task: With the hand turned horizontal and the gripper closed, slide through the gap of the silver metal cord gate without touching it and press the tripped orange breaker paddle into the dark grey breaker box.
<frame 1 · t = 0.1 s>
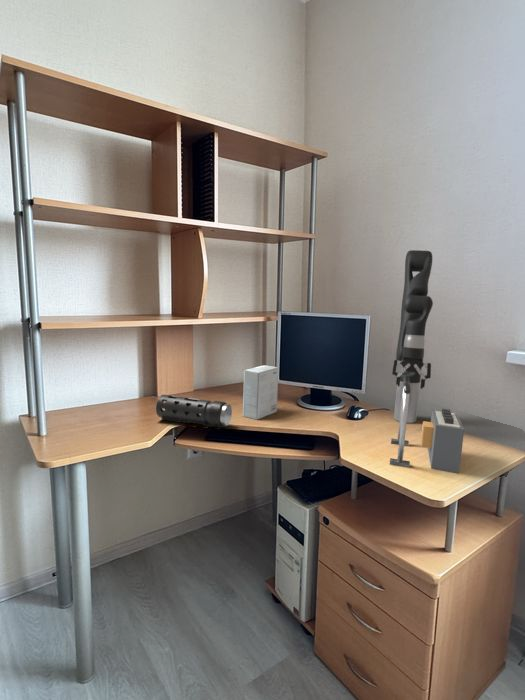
hand: (409, 387, 169), 17 cm above the table, tool pointing down, fingers open, 8 cm apart
hard drive box: (259, 414, 182), on the table
breaker box: (442, 460, 141), on the table
cord gate: (399, 453, 145), on the table
muzzle brake: (193, 424, 165), on the table
breaker paddle: (430, 434, 141), point 8 cm above the table, slide at 0.0 cm
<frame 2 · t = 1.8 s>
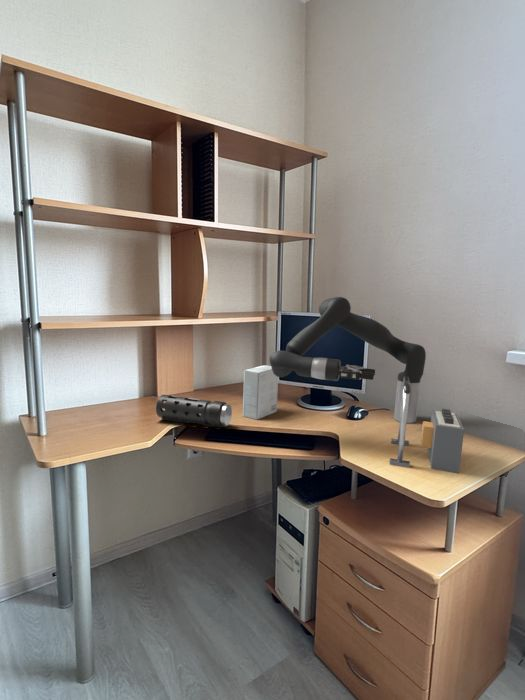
hand: (374, 374, 144), 26 cm above the table, tool horizontal, fingers open, 7 cm apart
nothing on the table moved.
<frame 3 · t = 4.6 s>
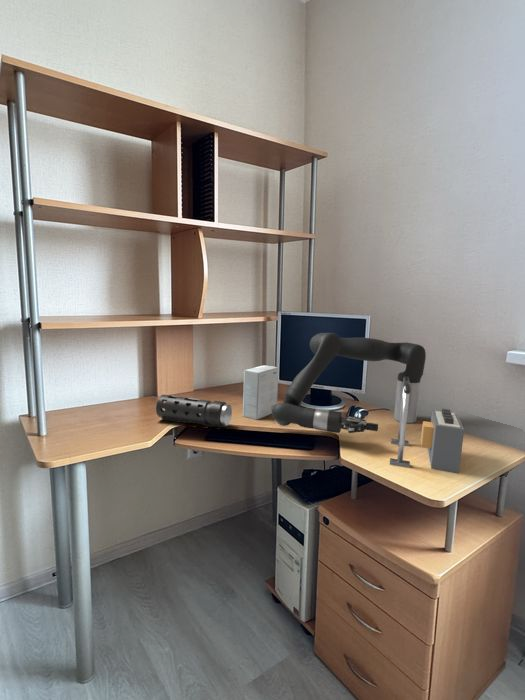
hand: (377, 427, 146), 8 cm above the table, tool horizontal, fingers closed
nothing on the table moved.
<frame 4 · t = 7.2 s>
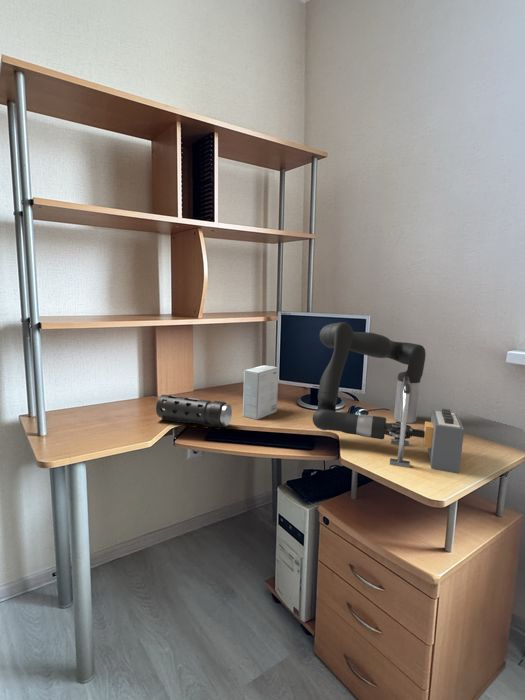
hand: (424, 434, 142), 8 cm above the table, tool horizontal, fingers closed
breaker paddle: (432, 435, 141), point 8 cm above the table, slide at 0.7 cm, touching gripper
everything else where it was.
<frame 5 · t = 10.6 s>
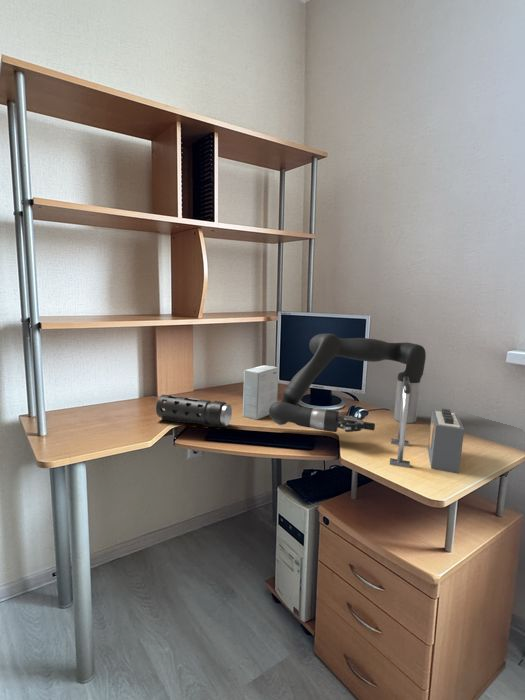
hand: (374, 426, 147), 8 cm above the table, tool horizontal, fingers closed
breaker paddle: (439, 436, 141), point 8 cm above the table, slide at 2.8 cm
everything else where it was.
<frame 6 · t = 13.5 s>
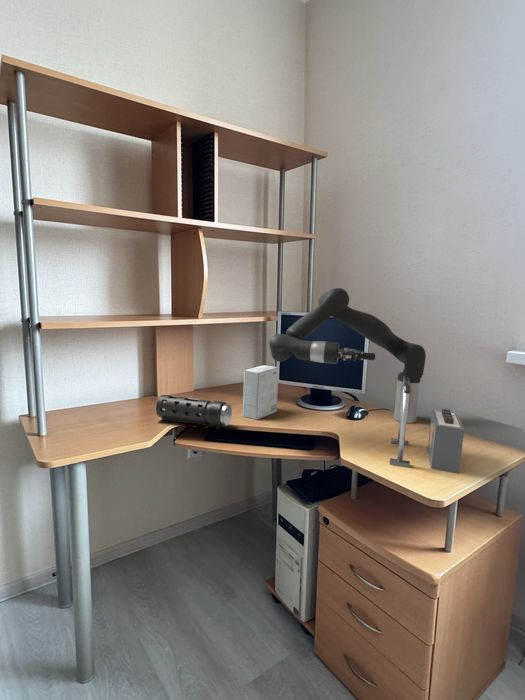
hand: (375, 356, 146), 32 cm above the table, tool horizontal, fingers closed
nothing on the table moved.
at the end: breaker paddle slide at 2.8 cm; cord gate moved 0.0 cm from its start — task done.
